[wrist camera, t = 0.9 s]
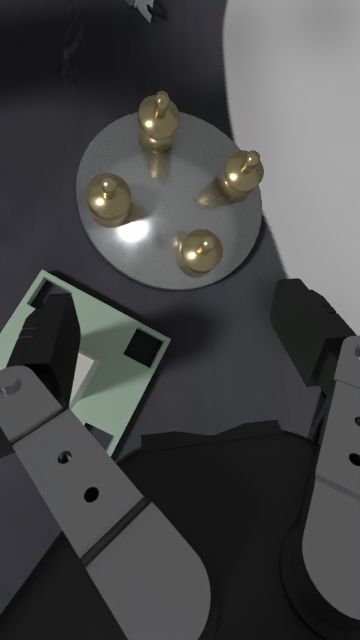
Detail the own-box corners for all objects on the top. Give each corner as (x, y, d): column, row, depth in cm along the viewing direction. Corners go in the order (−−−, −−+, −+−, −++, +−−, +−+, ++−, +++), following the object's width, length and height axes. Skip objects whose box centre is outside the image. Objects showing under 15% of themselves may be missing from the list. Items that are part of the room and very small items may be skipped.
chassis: (39, 229, 31) (21, 196, 25) (135, 87, 35) (140, 27, 29) (211, 325, 34) (234, 317, 27) (281, 181, 38) (315, 145, 32)
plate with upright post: (-41, 404, 28) (-171, 442, 15) (44, 273, 31) (-4, 209, 18) (101, 470, 29) (93, 554, 17) (168, 340, 32) (206, 326, 20)
